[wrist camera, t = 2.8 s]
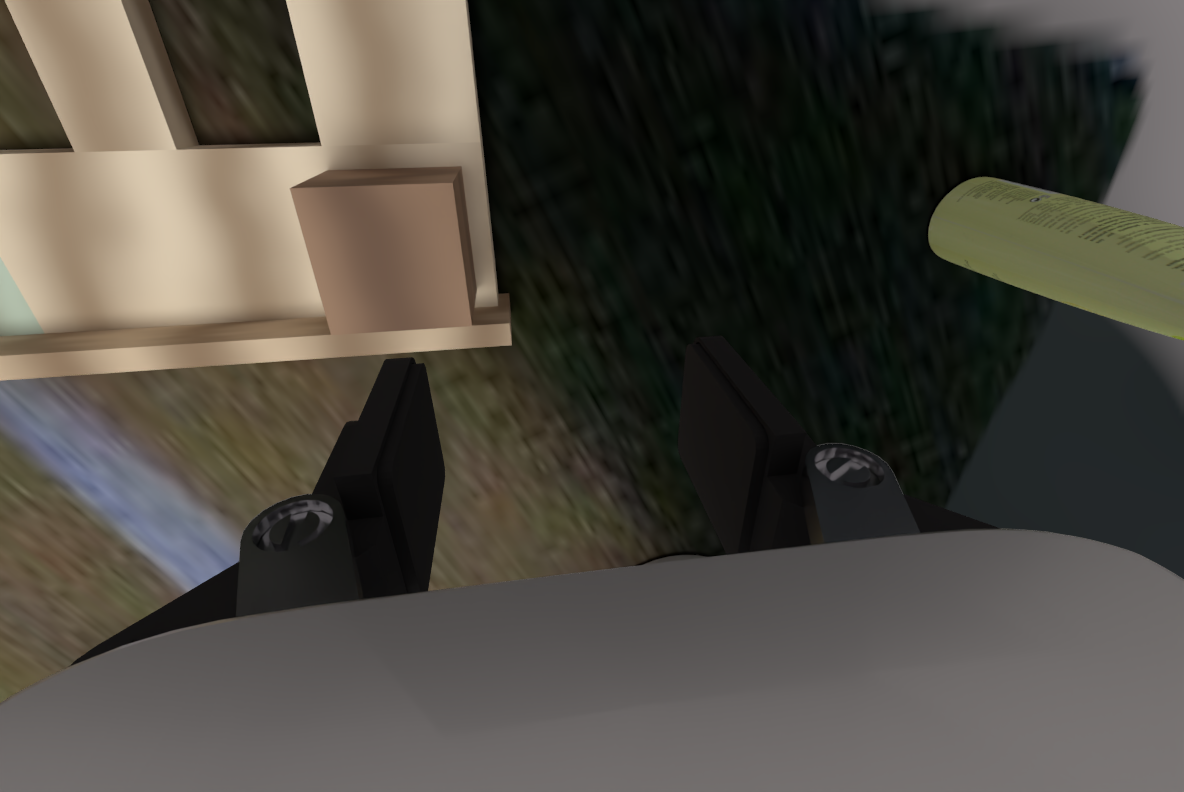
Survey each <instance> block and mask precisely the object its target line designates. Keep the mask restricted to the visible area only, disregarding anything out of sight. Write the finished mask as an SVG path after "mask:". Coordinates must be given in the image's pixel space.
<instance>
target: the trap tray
mask: <svg viewBox="0 0 1184 792" xmlns="http://www.w3.org/2000/svg"><path fill="white" fill-rule="evenodd" d="M5 2H6V4H7V7H8V9H9V11H10V13H11V15H12V17H13V20H14V22H15V24H16V26H17V28H18V30H19V32H20V35H21V37H22V39H23V41H24V43H25V45H26V48H27V50H28V52H29V54H30V56H31V58H32V61H33V63H34V65H35V67H36V69H37V71H38V74H39V76H40V78H41V80H42V82H43V84H44V87H45V89H46V91H47V93H48V95H49V97H50V100H51V102H52V104H53V106H54V108H55V110H56V113H57V115H58V117H59V119H60V121H61V123H62V126H63V128H64V130H65V132H66V134H67V136H68V139H69V141H70V143H71V145H72V147H73V148H66V149H24V150H0V380H15V379H29V378H44V377H58V376H73V375H87V374H102V373H116V372H131V371H145V370H160V369H174V368H188V367H203V366H217V365H232V364H246V363H261V362H275V361H290V360H304V359H319V358H333V357H348V356H362V355H377V354H391V353H406V352H420V351H434V350H449V349H463V348H478V347H492V346H507V345H512V338H511V310H510V299H509V293H504V294H498V286H497V276H496V266H495V257H494V247H493V238H492V228H491V219H490V209H489V200H488V190H487V180H486V171H485V161H484V152H483V142H482V133H481V123H480V113H479V104H478V94H477V85H476V75H475V66H474V56H473V47H472V37H471V27H470V18H469V8H468V0H286V2H287V6H288V10H289V15H290V19H291V23H292V27H293V31H294V35H295V39H296V43H297V47H298V51H299V55H300V59H301V64H302V68H303V72H304V76H305V80H306V84H307V88H308V92H309V96H310V100H311V104H312V109H313V113H314V117H315V121H316V125H317V129H318V133H319V137H320V141H321V142H319V143H276V144H234V145H199V143H198V140H197V137H196V135H195V132H194V129H193V126H192V123H191V120H190V117H189V115H188V112H187V109H186V106H185V103H184V100H183V97H182V95H181V92H180V89H179V86H178V83H177V80H176V78H175V75H174V72H173V69H172V66H171V63H170V60H169V58H168V55H167V52H166V49H165V46H164V43H163V40H162V38H161V35H160V32H159V29H158V26H157V23H156V21H155V18H154V15H153V12H152V9H151V6H150V3H149V1H148V0H5ZM455 166H462V174H463V182H464V190H465V198H466V206H467V214H468V222H469V230H470V238H471V246H472V254H473V262H474V270H475V278H476V286H477V293H476V300H475V307H474V315H473V322H472V326H467V327H451V328H436V329H420V330H405V331H389V332H374V333H358V334H343V335H331V333H330V329H329V326H328V322H327V319H326V315H325V312H324V308H323V304H322V301H321V297H320V294H319V290H318V287H317V283H316V280H315V276H314V273H313V269H312V266H311V262H310V259H309V255H308V251H307V248H306V244H305V241H304V237H303V234H302V230H301V227H300V223H299V220H298V216H297V213H296V209H295V206H294V202H293V198H292V195H291V191H290V188H291V187H293V186H296V185H298V184H300V183H302V182H304V181H306V180H308V179H310V178H312V177H314V176H317V175H319V174H321V173H323V172H325V171H327V170H354V169H388V168H421V167H455Z"/></svg>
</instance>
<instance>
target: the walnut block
mask: <svg viewBox="0 0 1184 792" xmlns="http://www.w3.org/2000/svg"><path fill="white" fill-rule="evenodd" d="M290 191H291V195H292V198H293V202H294V206H295V209H296V213H297V216H298V220H299V223H300V227H301V230H302V234H303V237H304V241H305V244H306V248H307V251H308V255H309V259H310V262H311V266H312V269H313V273H314V276H315V280H316V283H317V287H318V290H319V294H320V297H321V301H322V304H323V308H324V312H325V315H326V319H327V322H328V326H329V329H330V333H331V335H343V334H358V333H374V332H389V331H405V330H420V329H436V328H451V327H467V326H472V322H473V315H474V307H475V300H476V293H477V286H476V278H475V270H474V262H473V254H472V246H471V238H470V230H469V222H468V214H467V206H466V198H465V190H464V182H463V174H462V166H455V167H421V168H388V169H354V170H327V171H325V172H323V173H321V174H319V175H317V176H314V177H312V178H310V179H308V180H306V181H304V182H302V183H300V184H298V185H296V186H293V187H291V188H290Z"/></svg>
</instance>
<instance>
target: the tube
mask: <svg viewBox="0 0 1184 792" xmlns="http://www.w3.org/2000/svg"><path fill="white" fill-rule="evenodd" d="M928 239H929V244H930V246H931V249H932V250H933V251H934V253H935V254H936V255H938V256H939V257H941V258H943V259H945V260H947V261H949V262H952V263H955V264H957V265H960V266H962V267H965V268H968V269H970V270H973V271H975V272H978V273H981V274H983V275H986V276H989V277H992V278H994V279H997V280H1000V281H1003V282H1005V283H1008V284H1011V285H1013V286H1016V287H1019V288H1022V289H1025V290H1028V291H1031V292H1033V293H1036V294H1039V295H1042V296H1045V297H1048V298H1051V299H1053V300H1056V301H1059V302H1062V303H1065V304H1068V305H1071V306H1074V307H1077V308H1080V309H1084V310H1087V311H1090V312H1093V313H1096V314H1099V315H1102V316H1105V317H1108V318H1112V319H1114V320H1117V321H1121V322H1124V323H1127V324H1130V325H1134V326H1136V327H1140V328H1143V329H1146V330H1150V331H1153V332H1157V333H1160V334H1163V335H1167V336H1170V337H1174V338H1177V339H1181V340H1184V227H1180V226H1177V225H1174V224H1171V223H1167V222H1164V221H1160V220H1157V219H1154V218H1150V217H1147V216H1143V215H1139V214H1136V213H1132V212H1129V211H1125V210H1121V209H1118V208H1114V207H1110V206H1107V205H1103V204H1099V203H1095V202H1091V201H1087V200H1084V199H1080V198H1076V197H1072V196H1068V195H1064V194H1060V193H1056V192H1052V191H1048V190H1044V189H1040V188H1035V187H1031V186H1027V185H1023V184H1018V183H1014V182H1010V181H1006V180H1002V179H997V178H992V177H978V178H973V179H970V180H968V181H965V182H963V183H962V184H960V185H958V186H957V187H955V188H954V189H953V190H952V191H950V192H949V193H948V194H947V195H946V196H945V197H944V198H943V199H942V201H941V202H940V203H939V205H938V206H937V208H936V209H935V211H934V213H933V215H932V218H931V221H930V225H929V230H928Z"/></svg>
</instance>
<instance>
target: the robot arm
mask: <svg viewBox="0 0 1184 792" xmlns="http://www.w3.org/2000/svg"><path fill="white" fill-rule="evenodd" d="M678 450H679V455H680V457H681V460H682V462H683V464H684V466H685V468H686V470H687V472H688V474H689V476H690V479H691V481H692V483H693V485H694V487H695V489H696V491H697V493H698V495H699V498H700V500H701V502H702V504H703V506H704V508H705V510H706V512H707V514H708V517H709V519H710V521H711V523H712V525H713V527H714V529H715V531H716V533H717V535H718V538H719V540H720V542H721V544H722V546H723V548H724V550H725V552H726V554H727V555H721V556H713V557H705V556H699V555H677V556H669V557H665V558H661V559H657V560H654V561H651V562H649V563H646V564H644V565H639V566H630V567H622V568H614V569H606V570H597V571H589V572H581V573H572V574H564V575H556V576H547V577H539V578H531V579H522V580H514V581H506V582H497V583H489V584H481V585H473V586H465V587H457V588H449V589H441V590H433V591H428V587H429V580H430V574H431V567H432V560H433V554H434V547H435V541H436V534H437V528H438V521H439V514H440V508H441V501H442V495H443V488H444V481H445V467H444V461H443V455H442V450H441V445H440V440H439V434H438V429H437V424H436V419H435V413H434V408H433V403H432V398H431V393H430V387H429V382H428V377H427V372H426V367H425V365H424V363H421V364H416V362H415V360H414V358H412V357H411V358H397V359H386V360H385V361H384V363H383V365H382V368H381V370H380V372H379V374H378V377H377V379H376V381H375V384H374V386H373V388H372V391H371V393H370V395H369V397H368V400H367V402H366V404H365V407H364V409H363V411H362V413H361V416H360V418H359V420H358V421H349V422H347V423H346V424H345V426H344V427H343V429H342V431H341V434H340V436H339V438H338V440H337V442H336V444H335V446H334V448H333V451H332V453H331V455H330V457H329V459H328V461H327V463H326V465H325V468H324V470H323V472H322V474H321V476H320V478H319V480H318V482H317V484H316V487H315V489H314V491H313V493H312V494H305V495H300V496H295V497H291V498H288V499H286V500H283V501H281V502H278V503H276V504H274V505H272V506H270V507H269V508H267V509H265V510H263V511H262V512H261V513H260V514H258V515H257V516H256V517H255V518H254V519H252V520H251V522H250V523H249V524H248V526H247V527H246V528H245V530H244V531H243V534H242V538H241V541H240V556H239V562H238V563H236V564H234V565H233V566H231V567H229V568H228V569H226V570H224V571H222V572H221V573H219V574H217V575H216V576H214V577H212V578H211V579H209V580H207V581H206V582H204V583H202V584H200V585H199V586H197V587H195V588H194V589H192V590H190V591H189V592H187V593H185V594H184V595H182V596H180V597H178V598H177V599H175V600H173V601H172V602H170V603H168V604H167V605H165V606H163V607H162V608H160V609H158V610H157V611H155V612H153V613H151V614H150V615H148V616H146V617H145V618H143V619H141V620H140V621H138V622H136V623H135V624H133V625H131V626H129V627H128V628H126V629H124V630H123V631H121V632H119V633H118V634H116V635H114V636H113V637H111V638H109V639H108V640H106V641H104V642H102V643H101V644H99V645H97V646H96V647H94V648H93V649H91V650H90V651H89V652H87V653H86V654H84V655H83V656H81V657H80V658H78V659H77V660H76V661H75V662H74V663H72V664H71V665H70V666H69V667H67V668H65V669H63V670H61V671H59V672H57V673H55V674H52V675H50V676H48V677H46V678H44V679H42V680H40V681H38V682H36V683H34V684H32V685H30V686H29V687H27V688H25V689H23V690H21V691H19V692H17V693H16V694H14V695H12V696H10V697H9V698H7V699H6V700H4V701H3V702H1V703H0V792H1184V580H1183V579H1182V578H1180V577H1179V576H1177V575H1175V574H1174V573H1172V572H1171V571H1169V570H1167V569H1165V568H1164V567H1162V566H1160V565H1158V564H1156V563H1154V562H1153V561H1151V560H1149V559H1147V558H1145V557H1143V556H1141V555H1138V554H1136V553H1134V552H1131V551H1128V550H1126V549H1122V548H1119V547H1115V546H1112V545H1108V544H1105V543H1102V542H1097V541H1093V540H1089V539H1085V538H1080V537H1074V536H1068V535H1062V534H1056V533H1050V532H1044V531H1031V530H1019V529H1000V528H997V527H994V526H992V525H989V524H986V523H983V522H980V521H978V520H975V519H972V518H969V517H966V516H963V515H961V514H958V513H955V512H952V511H949V510H947V509H944V508H941V507H938V506H935V505H933V504H930V503H927V502H924V501H921V500H919V499H916V498H913V497H910V496H907V495H904V494H903V493H902V491H901V489H900V486H899V484H898V482H897V480H896V477H895V475H894V473H893V471H892V470H891V468H890V467H889V465H888V464H887V463H886V462H884V461H883V460H882V459H881V458H880V457H878V456H876V455H875V454H873V453H871V452H869V451H867V450H864V449H861V448H859V447H856V446H852V445H846V444H841V443H827V444H822V445H818V446H817V445H816V444H815V443H814V442H813V441H812V440H811V438H810V437H809V436H808V435H807V434H806V431H805V430H804V429H803V428H802V427H801V426H800V425H799V423H798V422H797V421H796V420H795V419H794V418H793V417H792V415H791V414H790V413H789V412H788V411H787V410H786V409H785V407H784V406H783V405H782V404H781V403H780V402H779V400H778V399H777V398H776V397H775V396H774V395H773V394H772V392H771V391H770V390H769V389H768V388H767V387H766V386H765V384H764V383H763V382H762V381H761V380H760V379H759V378H758V376H757V375H756V374H755V373H754V372H753V371H752V370H751V368H750V367H749V366H748V365H747V364H746V363H745V362H744V360H743V359H742V358H741V357H740V356H739V355H738V353H737V352H736V351H735V350H734V349H733V348H732V347H731V345H730V344H729V343H728V342H727V341H726V340H725V339H724V337H722V336H709V337H697V338H696V339H695V341H694V344H688V345H687V348H686V355H685V366H684V378H683V389H682V401H681V412H680V424H679V435H678Z"/></svg>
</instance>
